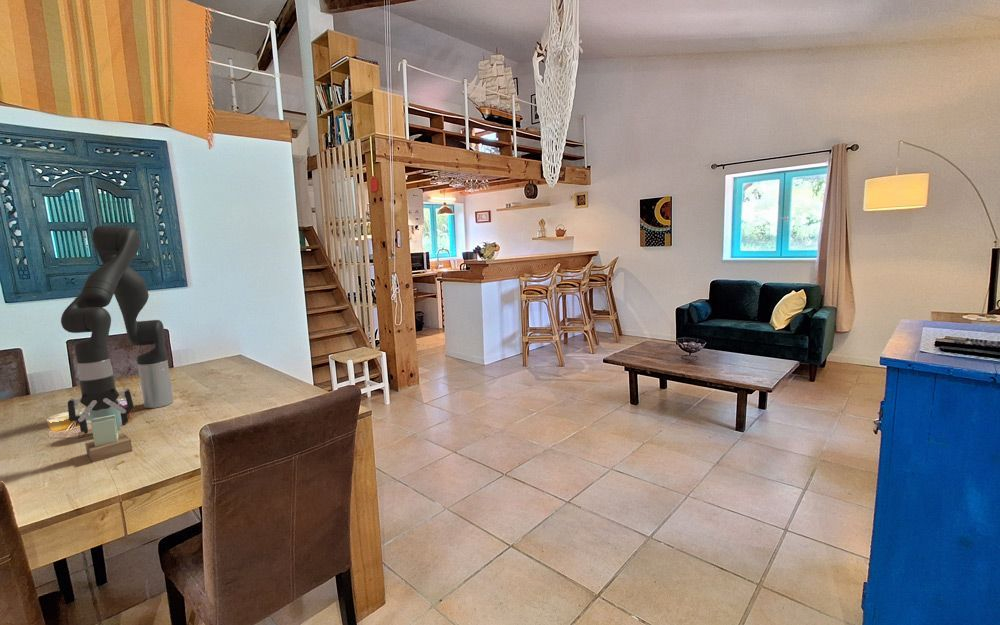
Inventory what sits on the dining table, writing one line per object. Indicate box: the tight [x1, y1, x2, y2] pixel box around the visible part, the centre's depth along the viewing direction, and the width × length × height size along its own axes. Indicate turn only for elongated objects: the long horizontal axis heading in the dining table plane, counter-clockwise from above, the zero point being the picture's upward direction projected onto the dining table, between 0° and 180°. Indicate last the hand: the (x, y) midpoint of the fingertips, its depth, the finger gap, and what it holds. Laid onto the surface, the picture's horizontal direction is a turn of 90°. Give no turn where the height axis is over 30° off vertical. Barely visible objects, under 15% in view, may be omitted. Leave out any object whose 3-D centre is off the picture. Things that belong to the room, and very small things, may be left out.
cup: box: [89, 399, 123, 432], centre depth 150 cm, size 8×8×10 cm
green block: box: [90, 415, 119, 447], centre depth 134 cm, size 5×5×7 cm
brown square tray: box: [84, 432, 133, 463], centre depth 135 cm, size 9×9×4 cm
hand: (105, 428), depth 134 cm, fingers open, 8 cm apart
